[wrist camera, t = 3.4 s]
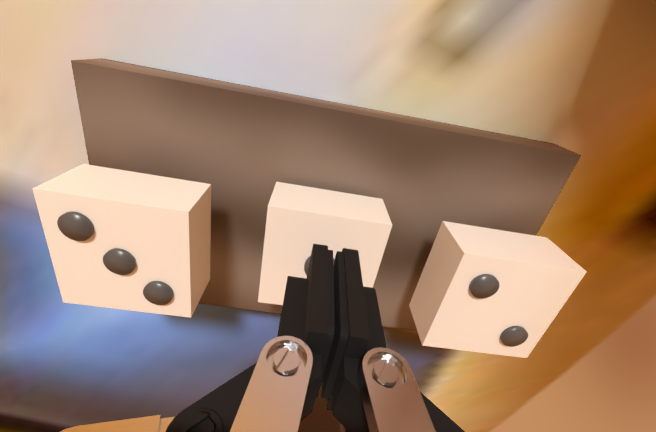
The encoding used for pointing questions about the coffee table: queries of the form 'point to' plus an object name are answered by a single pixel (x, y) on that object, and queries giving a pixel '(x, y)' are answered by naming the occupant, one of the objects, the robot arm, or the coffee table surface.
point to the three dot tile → (128, 239)
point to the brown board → (312, 168)
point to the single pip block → (319, 234)
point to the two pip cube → (491, 290)
